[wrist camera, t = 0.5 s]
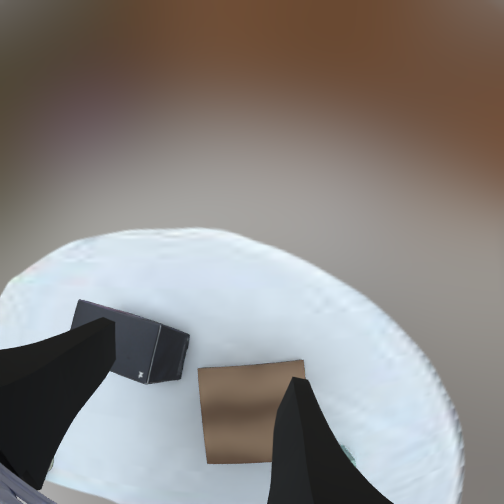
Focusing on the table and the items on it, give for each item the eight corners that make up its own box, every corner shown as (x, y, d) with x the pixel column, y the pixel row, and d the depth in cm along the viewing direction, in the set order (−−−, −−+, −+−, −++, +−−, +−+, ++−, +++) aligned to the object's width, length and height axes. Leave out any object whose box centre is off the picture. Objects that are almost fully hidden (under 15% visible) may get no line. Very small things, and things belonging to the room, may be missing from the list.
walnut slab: (309, 451, 31) (311, 457, 28) (211, 457, 31) (207, 463, 29) (301, 359, 35) (303, 360, 32) (202, 367, 35) (197, 368, 33)
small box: (192, 331, 37) (163, 322, 27) (181, 381, 35) (148, 388, 25) (120, 311, 38) (77, 295, 28) (109, 357, 36) (63, 353, 26)
